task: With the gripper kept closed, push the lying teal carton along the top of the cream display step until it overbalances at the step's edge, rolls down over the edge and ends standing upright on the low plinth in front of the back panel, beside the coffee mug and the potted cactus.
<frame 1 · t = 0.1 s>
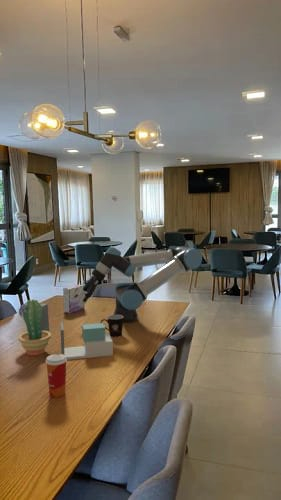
hand: (78, 303, 211), 15 cm above the table, tool tilted 35°, fingers open, 13 cm apart
paper cup: (57, 394, 140), on the table
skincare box: (40, 333, 208), on the table
display stand: (85, 352, 179), on the table
potted cactus: (35, 352, 182), on the table
candy box: (74, 311, 253), on the table
coffee mug: (113, 335, 205), on the table
carton: (93, 338, 180), point 7 cm above the table, touching display stand
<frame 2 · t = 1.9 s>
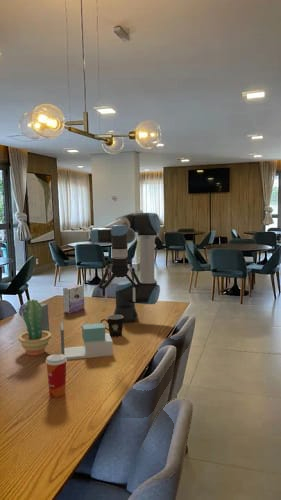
hand: (120, 302, 181), 23 cm above the table, tool pointing down, fingers open, 13 cm apart
nothing on the table moved.
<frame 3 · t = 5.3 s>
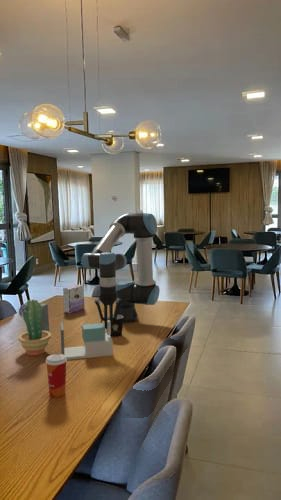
hand: (108, 334, 181), 8 cm above the table, tool pointing down, fingers closed
carton: (93, 338, 180), point 7 cm above the table, touching display stand, gripper
everything else where it was.
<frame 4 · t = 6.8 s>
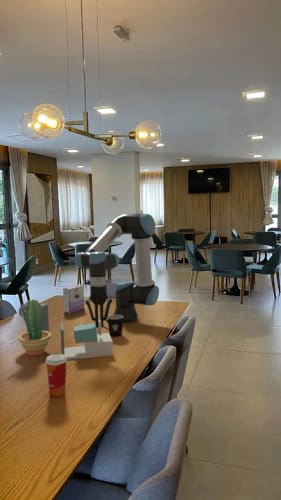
hand: (99, 334, 180), 9 cm above the table, tool pointing down, fingers closed
carton: (85, 339, 179), point 7 cm above the table, touching display stand, gripper
everything else where it was.
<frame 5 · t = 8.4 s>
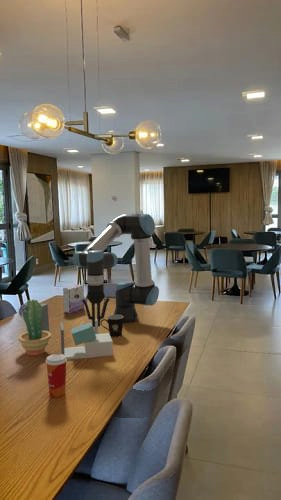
hand: (96, 333, 179), 9 cm above the table, tool pointing down, fingers closed
carton: (85, 339, 178), point 7 cm above the table, tilted 15°, touching display stand, gripper
everything else where it was.
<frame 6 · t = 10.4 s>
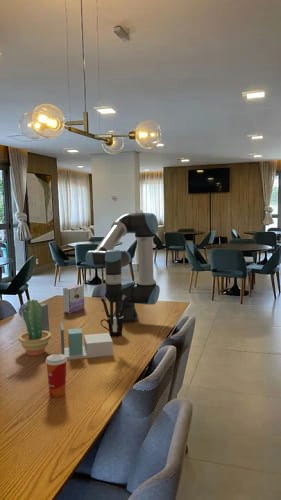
hand: (114, 331, 182), 9 cm above the table, tool pointing down, fingers closed
carton: (81, 340, 178), point 6 cm above the table, tilted 90°, touching display stand
everything else where it was.
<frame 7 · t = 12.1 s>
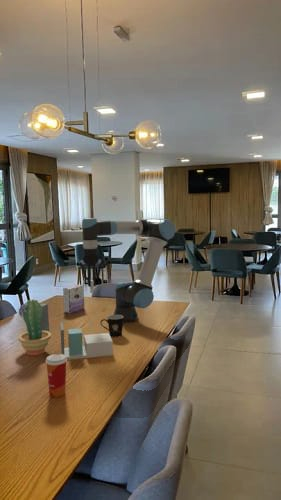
hand: (92, 292, 200), 24 cm above the table, tool pointing down, fingers closed
nothing on the table moved.
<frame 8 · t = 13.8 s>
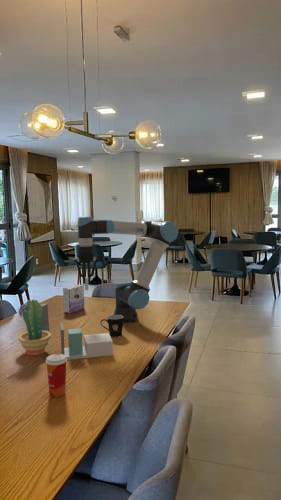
hand: (86, 289, 205), 24 cm above the table, tool pointing down, fingers closed
nothing on the table moved.
at the end: carton tilted 90°; carton inside the target area (0.5 cm from its centre), point 6.2 cm above the table; carton touching display stand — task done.
